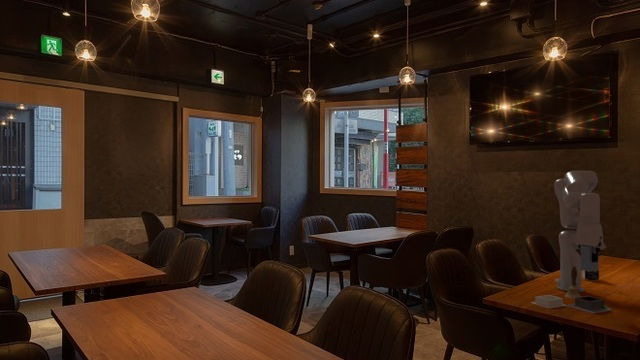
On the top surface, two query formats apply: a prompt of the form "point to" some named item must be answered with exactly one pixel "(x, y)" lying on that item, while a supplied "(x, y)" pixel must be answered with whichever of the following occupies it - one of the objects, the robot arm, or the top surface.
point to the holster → (548, 301)
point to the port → (590, 304)
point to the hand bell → (573, 286)
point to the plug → (588, 259)
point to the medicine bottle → (591, 275)
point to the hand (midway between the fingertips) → (589, 260)
